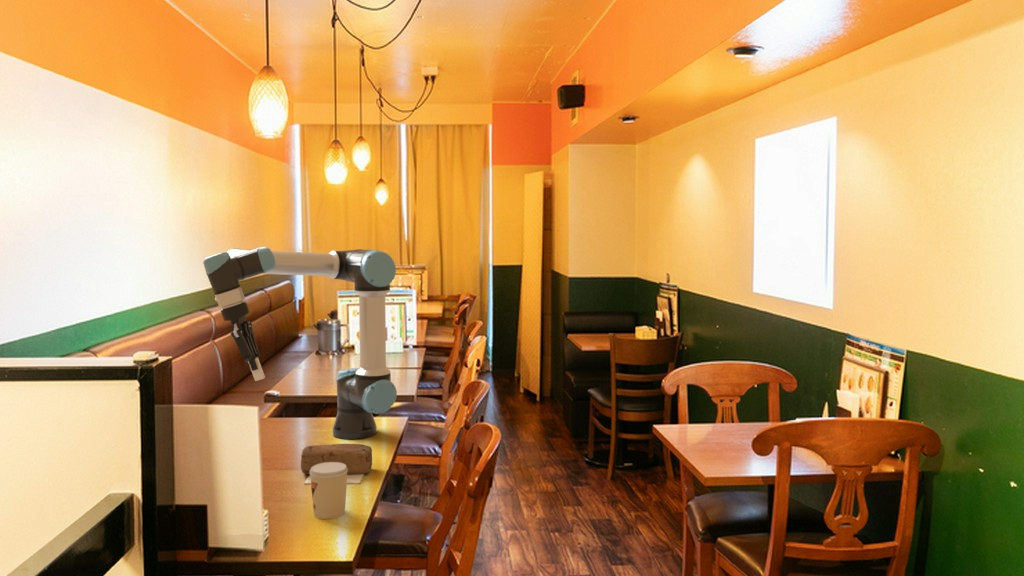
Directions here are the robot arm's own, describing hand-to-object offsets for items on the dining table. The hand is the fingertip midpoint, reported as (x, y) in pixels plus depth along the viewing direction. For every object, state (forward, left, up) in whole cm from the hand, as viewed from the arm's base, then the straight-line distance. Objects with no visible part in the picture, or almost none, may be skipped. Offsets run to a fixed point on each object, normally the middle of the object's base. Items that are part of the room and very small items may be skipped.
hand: (260, 379), depth 226 cm
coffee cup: (+37, +27, -27) cm, 53 cm away
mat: (+5, +24, -27) cm, 36 cm away
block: (+4, +13, -23) cm, 27 cm away
